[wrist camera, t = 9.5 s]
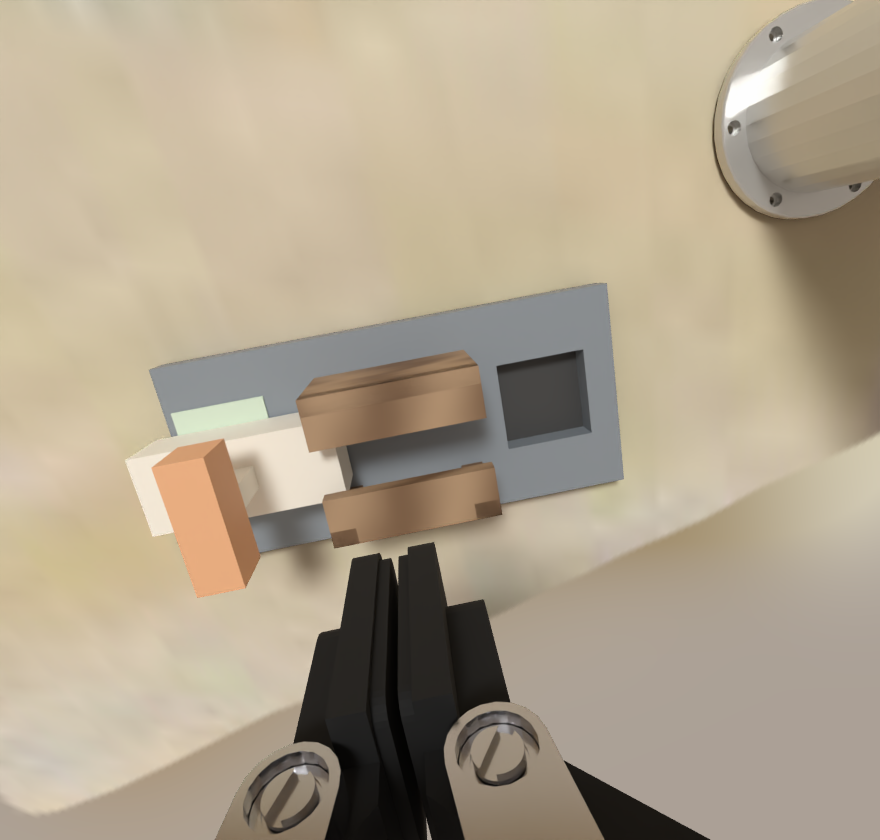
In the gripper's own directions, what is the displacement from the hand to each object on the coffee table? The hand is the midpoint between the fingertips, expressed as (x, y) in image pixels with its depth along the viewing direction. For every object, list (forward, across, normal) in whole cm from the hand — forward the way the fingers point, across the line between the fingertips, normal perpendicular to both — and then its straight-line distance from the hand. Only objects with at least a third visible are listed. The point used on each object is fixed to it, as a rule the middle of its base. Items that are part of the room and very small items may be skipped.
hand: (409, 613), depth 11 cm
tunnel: (+25, +1, +3) cm, 25 cm away
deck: (+27, +1, +3) cm, 27 cm away
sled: (+25, +11, +3) cm, 27 cm away
